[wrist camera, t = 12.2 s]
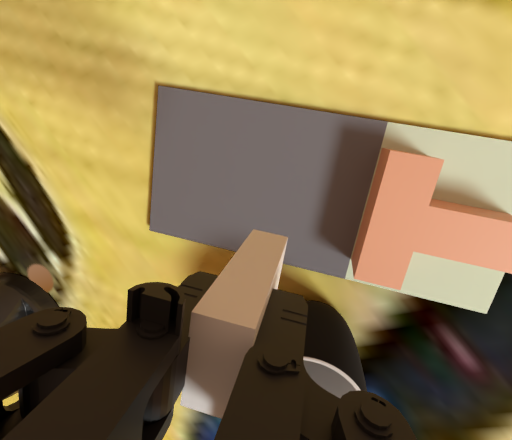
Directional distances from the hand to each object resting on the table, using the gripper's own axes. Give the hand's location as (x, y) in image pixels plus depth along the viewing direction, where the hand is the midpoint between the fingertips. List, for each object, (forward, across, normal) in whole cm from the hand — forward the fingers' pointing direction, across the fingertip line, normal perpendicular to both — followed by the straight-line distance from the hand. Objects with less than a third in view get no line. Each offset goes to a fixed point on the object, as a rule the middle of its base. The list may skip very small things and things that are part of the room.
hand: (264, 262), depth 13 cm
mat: (+16, +2, 0) cm, 16 cm away
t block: (+15, +11, 0) cm, 19 cm away
